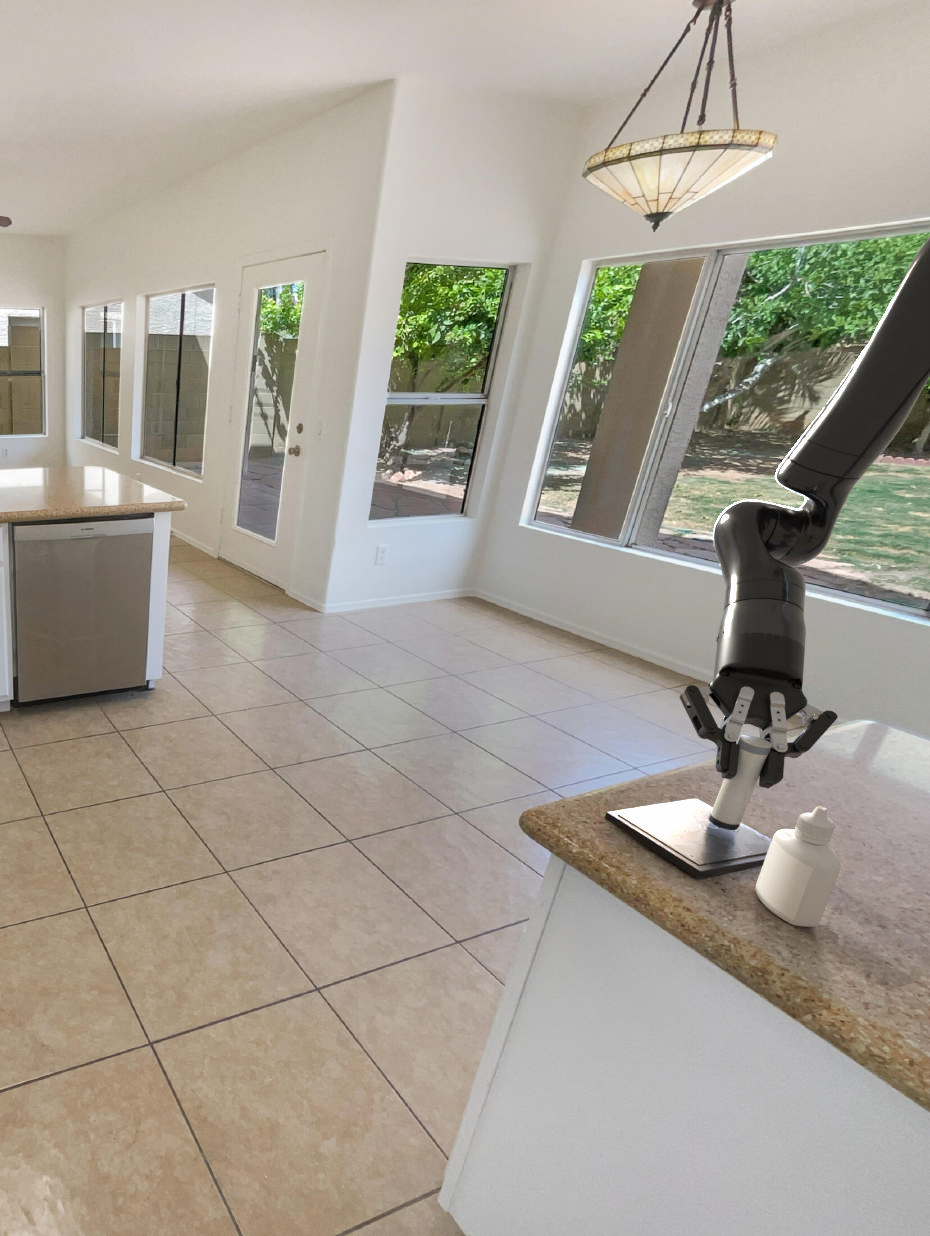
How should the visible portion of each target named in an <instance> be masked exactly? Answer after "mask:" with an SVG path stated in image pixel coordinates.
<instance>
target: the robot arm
mask: <svg viewBox="0 0 930 1236" xmlns="http://www.w3.org/2000/svg"><path fill="white" fill-rule="evenodd" d="M929 379H930V237H928V238H927V239H926V241H925V242H924V243H923V244H922V246H921V247H920V249H919V250H918V252H917V253H916V255H915V256H914V258H913V260H912V262H911V263H910V265H909V267H908V269H907V271H906V273H905V274H904V277H903V278H902V280H901V282H900V284H899V286H898V287H897V290H896V291H895V293H894V295H893V296H892V299H891V301H890V303H889V305H888V307H887V308H886V311H885V313H884V314H883V316H882V318H881V320H880V321H879V322H878V325H877V326H876V328H875V329H874V332H873V334H872V335H871V337H870V338H869V340H868V342H867V343H866V344H865V346H864V348H863V350H862V351H861V353H860V355H859V356H858V358H857V359H856V361H855V362H854V364H853V365H852V366H851V369H850V370H849V372H848V373H847V374H846V376H845V377H844V379H843V380H842V381H841V383H840V385H838V388H837V389H836V390H835V391H834V393H833V394H832V396H831V397H830V399H829V400H828V401H827V403H826V404H825V405H824V407H823V408H822V410H821V411H820V412H819V413H818V414H817V416H816V417H815V419H814V420H813V421H812V422H811V424H810V425H809V426H808V427H807V428H806V430H805V431H804V433H803V434H802V435H801V436H800V438H799V439H798V440H797V442H796V443H795V444H794V446H793V447H792V448H791V450H790V451H789V452H788V454H787V455H786V456H785V458H784V459H783V460H782V462H781V463H780V464H779V465H778V468H777V469H776V472H775V476H774V477H775V480H776V482H777V483H778V484H779V485H781V487H784V488H785V489H787V490H789V491H791V492H793V493H794V494H797V495H800V496H803V497H804V502H803V504H802V505H801V506H800V507H799V508H794V507H792V506H791V507H790V506H786V505H781V504H776V503H772V502H768V501H763V500H758V499H745V500H744V499H743V500H740V501H737V502H734V503H733V504H731V505H729V506H728V507H726V508H725V509H724V510H723V511H722V513H720V515H719V516H718V518H717V520H716V522H715V524H714V528H713V534H712V536H713V539H712V541H713V542H712V543H713V547H714V551H715V555H716V558H717V561H718V564H719V567H720V570H721V573H722V577H723V579H724V580H723V581H724V583H725V593H724V602H723V611H722V617H721V620H720V623H719V628H718V633H717V635H716V640H715V641H716V653H715V661H714V669H713V670H714V671H713V679H712V681H711V682H710V683H709V684H707V685H706V686H697V685H694V684H689V685H687V686H686V687H685V688H684V689H683V691H682V692H681V693H680V694H679V700H680V702H681V703H682V705H683V707H684V710H685V712H686V714H687V716H688V718H689V720H690V722H691V724H692V727H693V728H694V730H695V733H696V734H697V736H698V737H699V738H700V739H702V740H708V741H710V742H712V743H714V744H715V745H716V748H717V749H716V757H715V770H716V772H717V773H721V775H720V776H721V778H722V779H724V778H725V779H729V780H730V779H732V778H733V777H735V776H736V773H737V765H738V755H739V744H738V743H737V742H738V741H739V738H740V735H741V731H742V727H743V726H744V725H751V726H753V727H756V728H758V731H759V738H761V739H764V740H766V741H768V742H770V743H771V745H772V747H771V749H770V752H769V754H768V756H767V758H766V761H765V763H764V766H763V768H762V771H761V773H760V776H759V778H758V787H760V788H763V789H764V788H765V789H770V788H772V787H773V786H775V785H777V784H779V783H780V782H781V781H782V780H783V779H784V772H785V759H786V758H791V759H798V758H800V757H801V756H802V755H803V754H806V753H807V752H808V751H810V750H811V748H812V747H813V746H814V745H815V744H816V743H817V742H818V741H819V739H820V738H822V736H823V735H824V734H825V733H826V732H827V731H828V730H829V729H830V727H831V726H832V725H833V724H834V723H835V721H836V720H838V714H837V713H836V712H835V711H833V710H829V709H828V710H824V711H823V710H821V709H819V708H816V707H815V706H813V705H811V704H809V703H808V698H807V697H806V695H805V694H804V691H803V684H804V683H803V682H804V667H805V654H806V637H807V628H806V622H805V602H806V601H805V600H806V587H807V586H806V579H805V577H804V575H803V574H802V572H800V571H799V570H798V569H797V568H795V567H797V566H801V565H803V564H806V563H808V562H810V561H812V560H814V559H815V558H817V557H818V556H819V555H820V554H821V553H822V552H823V551H824V549H825V548H826V547H827V545H828V544H829V541H830V539H831V537H832V534H833V532H834V528H835V526H836V524H837V521H838V519H839V516H840V514H841V512H842V510H843V508H844V505H845V504H846V502H847V500H848V498H849V496H850V494H851V492H852V491H853V488H854V487H855V485H856V484H857V483H858V482H859V481H860V480H861V478H862V477H863V476H864V475H865V474H866V472H867V471H868V470H869V469H870V467H871V466H872V465H873V464H874V463H875V462H876V461H877V459H879V457H880V456H881V455H882V453H884V451H885V450H886V449H887V447H888V446H889V445H890V443H891V442H892V441H893V440H894V438H895V437H896V436H897V434H898V433H899V431H900V430H901V428H902V427H903V425H904V424H905V422H906V421H907V418H908V417H909V415H910V413H911V412H912V409H913V408H914V406H915V405H916V402H917V400H918V398H919V396H920V394H922V391H923V389H924V387H925V385H926V384H927V382H928V381H929ZM710 699H711V700H712V701H713V703H714V704H715V705H716V706H717V708H718V709H719V710H720V712H721V713H722V714H723V717H722V719H721V723H720V726H718V724H717V722H716V720H715V718H714V716H713V714H712V712H711V710H710V708H709V706H708V704H707V703H709V701H710ZM798 713H799V714H800V715H801V717H802V718H801V722H800V723H801V724H802V726H803V727H805V728H804V729H803V730H802V731H801V732H800V734H799V735H798V736H797V737H796V738H795V739H794V740H793V741H792V742H791V741H790V742H788V738H787V732H788V722H787V721H788V720H790V719H791V718H792V717H794V716H796V714H798Z"/></svg>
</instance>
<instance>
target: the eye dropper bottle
mask: <svg viewBox="0 0 930 1236" xmlns="http://www.w3.org/2000/svg"><path fill="white" fill-rule="evenodd" d="M835 828H836V824H835V823H834V821H833V820H831V819H829V818H828V808H827V807H825V806H823V805H816V806H815V808H814V809H813V810H812V812H805V813H800V814H799V815H798V819H797V822H796V825H795V827H794V829H791V828H782V829H778V830H777V831H775V832H774V834H773V837H772V838H771V839H772V841H771V844H770V846H769V849H768V852H767V855H766V858H765V860H764V863H763V866H761V869H760V872H759V875H758V878H757V880H756V884H755V886H754V890H755V894H756V896H757V898H758V900H759V901H760V902H761V903H762V904H763V905H764V906H765V907H766V908H767V909H768V910H769V911H770V912H772V913H773V914H774V915H775V916H777V917H779V918H780V919H782V920H783V921H785V922H786V923H788V924H790V925H792V926H796V927H807V928H817V927H819V925H820V923H821V921H822V919H823V916H824V913H825V910H826V907H827V906H828V903H829V900H830V898H831V896H832V893H833V890H834V887H835V885H836V882H837V880H838V877H839V874H840V871H841V868H842V867H841V862H840V859H839V857H838V854H836V852H835V850H834V849H833V848H832V847H831V846H830V841H831V839H832V836H833V833H834V831H835Z"/></svg>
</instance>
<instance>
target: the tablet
mask: <svg viewBox="0 0 930 1236" xmlns="http://www.w3.org/2000/svg"><path fill="white" fill-rule="evenodd" d="M712 809H713V806H711V805H710V804H707V803H705V802H704V801H703V800H700V799H698V798H688V799H682V800H676V801H669V802H663V803H657V804H650V805H643V806H636V807H630V808H624V809H623V808H622V809H617V810H610V811H606V812H605V816H604V820H606V821H607V822H608V823H610V824H612V825H613V826H615V827H617V828H618V829H619V830H621V831H623V832H624V833H625V834H627V835H629V836H630V837H632V838H634V839H636V841H638V842H640V843H641V844H643V845H645V846H646V847H647V848H649V849H651V850H652V851H653V852H655V853H657V854H658V855H660V856H662V857H663V858H664V859H666V860H668V861H669V862H671V863H672V864H674V865H675V866H677V867H678V868H680V869H682V870H683V871H685V872H686V873H688V874H689V875H690V876H692V877H694V878H695V879H697V880H698V879H704V878H709V877H710V878H711V877H715V876H720V875H726V874H730V873H735V872H742V871H745V870H746V871H747V870H750V869H755V868H760V867H762V866H763V863H764V860H765V858H766V855H767V852H768V849H769V846H770V844H771V841H772V839H773V838H770V837H769V836H767V835H765V834H763V833H761V832H760V831H757V830H755V829H754V828H752V827H750V826H748V825H746V824H744V823H743V822H742V821H741V822H740V825H739V827H738V829H737V830H727V829H723V828H720V827H718V826H716V825H714V824H712V823H711V822H710V821H709V816H710V813H711V811H712Z"/></svg>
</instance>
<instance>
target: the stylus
mask: <svg viewBox="0 0 930 1236" xmlns="http://www.w3.org/2000/svg"><path fill="white" fill-rule="evenodd" d="M737 744H739V755H738V765H737V773H736V776H735V777H733V778H732V779H730V780H729V779H725V778H723V781H722V784H721V786H720V788H719V791H718V794H717V796H716V799H715V801H714V804H713V806H712V807H713V809H712V811H711V813H710V816H709V821H710V822H711V823H712V824H714V825H716V826H718V827H720V828H723V829H727V830H737V829H738V827H739V825H740V822H741V823H742V820H743V817H744V815H745V812H746V810H747V807H748V805H749V802H750V800H751V797H752V795H753V792H754V790H755V788H756V785H757V783H758V781H759V778H760V773H761V771H762V768H763V766H764V763H765V761H766V758H767V756H768V754H769V752H770V749H771V747H772V745H771V743H770V742H768V741H766V740H764V739H761V738H760V737H758V736H754V735H746V734H745V735H741V736H739V738H738V741H737Z"/></svg>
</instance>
